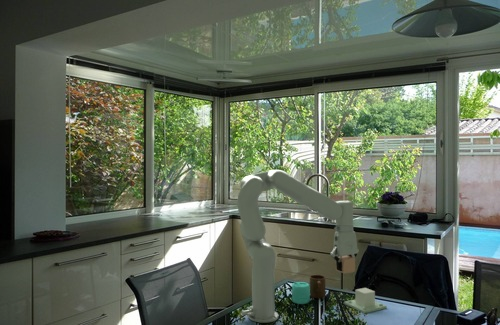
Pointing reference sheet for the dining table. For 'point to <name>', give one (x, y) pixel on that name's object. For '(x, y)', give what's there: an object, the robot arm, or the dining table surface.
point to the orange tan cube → (347, 264)
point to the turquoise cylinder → (300, 293)
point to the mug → (317, 286)
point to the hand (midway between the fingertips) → (345, 268)
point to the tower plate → (365, 309)
